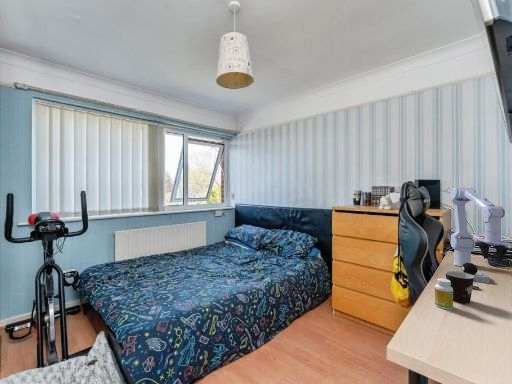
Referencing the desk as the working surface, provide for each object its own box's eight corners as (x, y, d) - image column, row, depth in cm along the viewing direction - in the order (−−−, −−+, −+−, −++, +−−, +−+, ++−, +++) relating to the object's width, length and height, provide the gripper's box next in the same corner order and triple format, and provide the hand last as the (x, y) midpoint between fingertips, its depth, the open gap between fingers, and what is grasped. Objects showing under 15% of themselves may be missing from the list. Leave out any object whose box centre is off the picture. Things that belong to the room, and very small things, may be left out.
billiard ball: (480, 277, 124) (480, 264, 124) (466, 276, 125) (466, 264, 125) (473, 273, 129) (473, 261, 129) (459, 272, 131) (459, 260, 131)
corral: (455, 273, 128) (455, 268, 128) (485, 278, 122) (485, 273, 122) (457, 278, 122) (457, 273, 121) (489, 283, 115) (489, 278, 115)
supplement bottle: (448, 311, 89) (448, 283, 89) (431, 305, 94) (431, 278, 94) (456, 307, 91) (456, 281, 91) (439, 302, 96) (439, 276, 96)
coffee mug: (463, 296, 101) (463, 271, 101) (480, 305, 93) (480, 278, 93) (432, 294, 103) (432, 270, 103) (446, 304, 94) (446, 277, 94)
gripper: (470, 229, 126) (469, 256, 126) (505, 234, 112) (505, 265, 112) (480, 228, 128) (479, 255, 128) (516, 233, 114) (516, 263, 114)
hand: (492, 260), depth 120 cm, fingers open, 5 cm apart
